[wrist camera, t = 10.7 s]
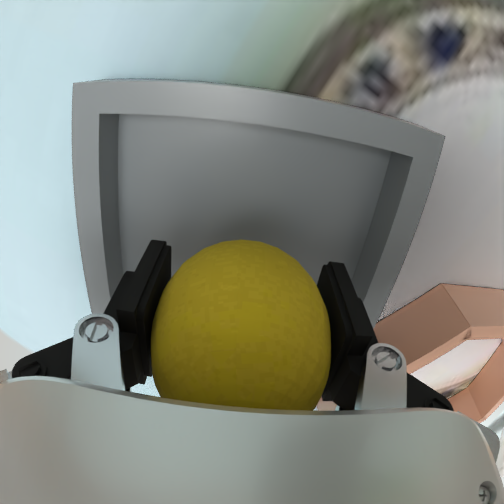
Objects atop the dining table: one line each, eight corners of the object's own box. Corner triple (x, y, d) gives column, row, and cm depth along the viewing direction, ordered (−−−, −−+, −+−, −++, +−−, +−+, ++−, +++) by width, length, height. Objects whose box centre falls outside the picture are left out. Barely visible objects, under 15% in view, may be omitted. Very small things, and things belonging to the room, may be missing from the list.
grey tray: (412, 122, 13) (445, 136, 10) (336, 344, 20) (345, 381, 17) (105, 79, 12) (73, 83, 9) (117, 320, 19) (102, 355, 16)
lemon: (248, 333, 15) (246, 492, 9) (152, 267, 14) (89, 435, 7) (337, 262, 13) (396, 435, 7) (239, 173, 11) (220, 342, 5)
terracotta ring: (538, 292, 18) (563, 323, 15) (447, 416, 27) (458, 445, 24) (373, 276, 17) (397, 325, 14) (300, 429, 26) (304, 467, 22)
